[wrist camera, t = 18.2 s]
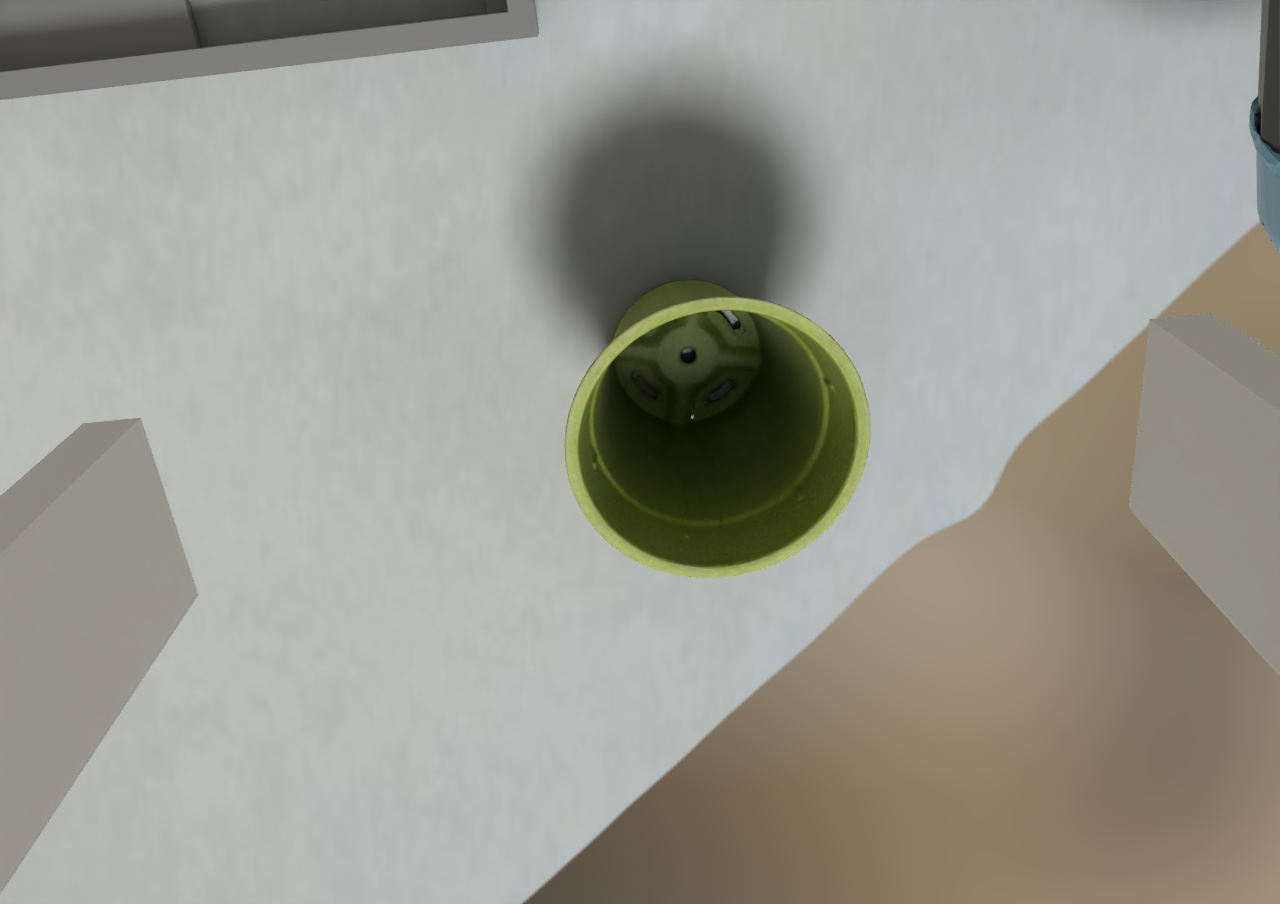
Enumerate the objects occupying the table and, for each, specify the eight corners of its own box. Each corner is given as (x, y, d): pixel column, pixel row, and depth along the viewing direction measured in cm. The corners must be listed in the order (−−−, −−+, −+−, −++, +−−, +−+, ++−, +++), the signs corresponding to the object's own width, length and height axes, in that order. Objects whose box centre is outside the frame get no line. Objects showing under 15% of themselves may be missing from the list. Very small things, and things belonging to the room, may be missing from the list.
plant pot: (529, 421, 52) (521, 529, 42) (618, 192, 48) (633, 249, 38) (748, 496, 55) (792, 615, 44) (851, 284, 50) (925, 361, 40)
